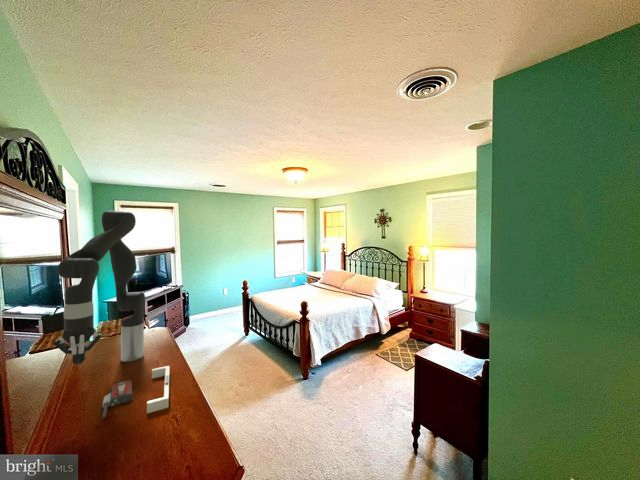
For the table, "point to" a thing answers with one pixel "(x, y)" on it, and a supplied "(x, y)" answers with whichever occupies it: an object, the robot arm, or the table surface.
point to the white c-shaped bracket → (164, 401)
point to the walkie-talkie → (118, 395)
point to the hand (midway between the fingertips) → (78, 363)
